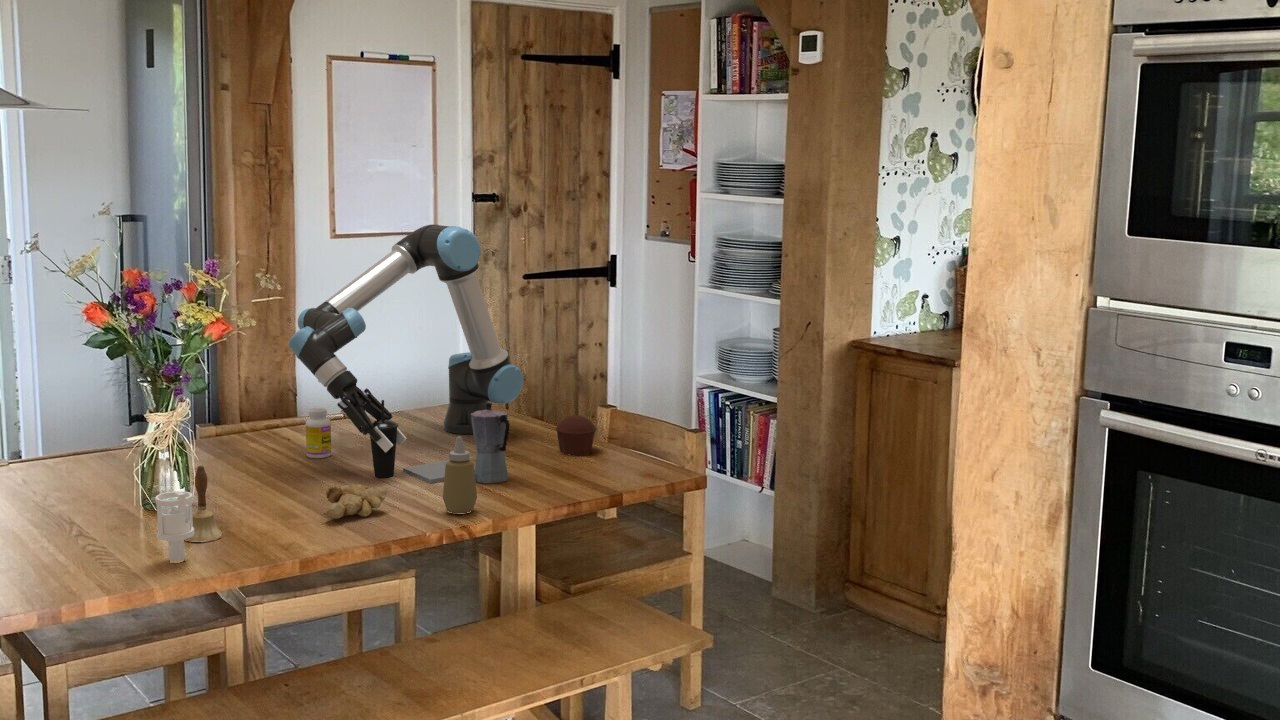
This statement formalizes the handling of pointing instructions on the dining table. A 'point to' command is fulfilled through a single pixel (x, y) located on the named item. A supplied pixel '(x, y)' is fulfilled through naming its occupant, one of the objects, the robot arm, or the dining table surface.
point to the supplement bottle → (318, 434)
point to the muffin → (575, 435)
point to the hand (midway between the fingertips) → (396, 445)
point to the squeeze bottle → (459, 481)
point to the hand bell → (203, 512)
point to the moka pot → (490, 444)
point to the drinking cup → (381, 459)
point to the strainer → (175, 521)
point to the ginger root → (353, 500)
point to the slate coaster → (428, 471)
